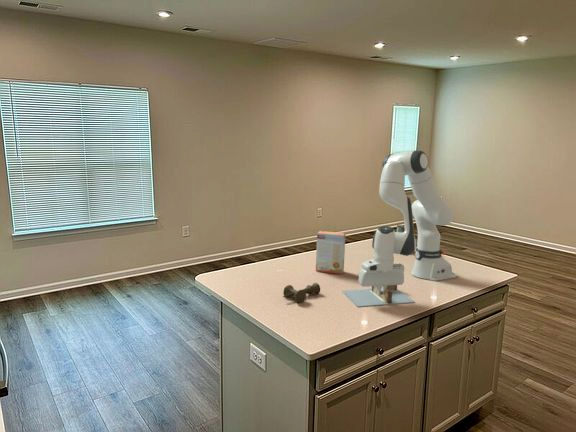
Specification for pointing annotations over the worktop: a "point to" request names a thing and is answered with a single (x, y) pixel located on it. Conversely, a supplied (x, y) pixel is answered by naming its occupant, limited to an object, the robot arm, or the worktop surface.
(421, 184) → the robot arm
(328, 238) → the cracker box
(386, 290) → the tan wooden bar
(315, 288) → the kendama
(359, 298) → the card
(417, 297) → the worktop surface
